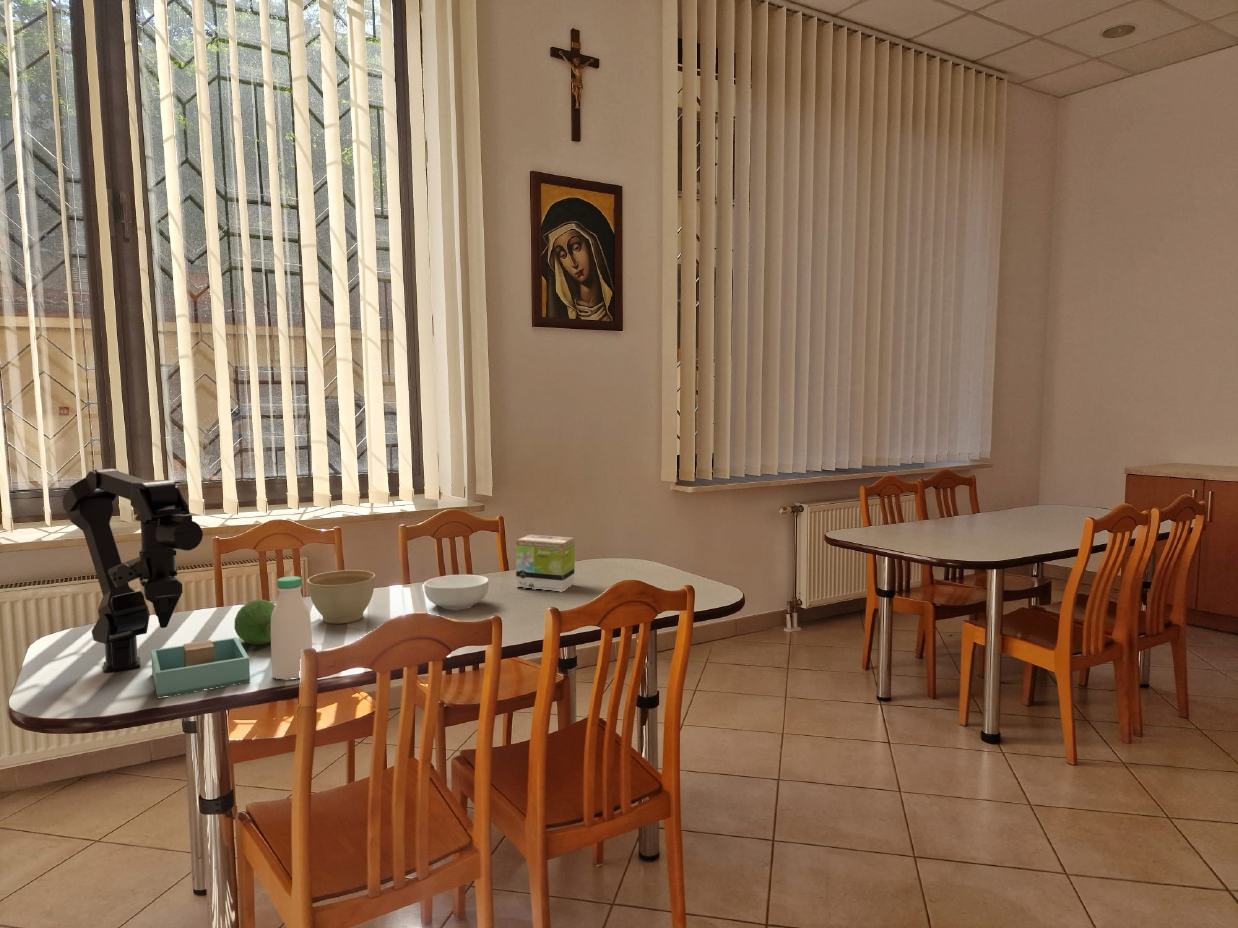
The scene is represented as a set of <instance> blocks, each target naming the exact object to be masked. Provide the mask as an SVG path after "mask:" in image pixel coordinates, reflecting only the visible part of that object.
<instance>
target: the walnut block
mask: <svg viewBox="0 0 1238 928" xmlns="http://www.w3.org/2000/svg"><path fill="white" fill-rule="evenodd" d="M212 641H213V640H211V639H209V640H208V639H207V640H201V641H196V642H193V641H192V642H187V643H183V648H184V667H188V666H195V665H201V664H207V663H213V662H215V660H214V646H213V643H212Z"/></svg>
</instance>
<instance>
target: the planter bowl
mask: <svg viewBox="0 0 1238 928" xmlns="http://www.w3.org/2000/svg"><path fill="white" fill-rule="evenodd" d="M375 578H376V574H375V573H374V572H372V571H367V570H362V569H361V570H358V569H354V570H353V569H345V570H334V571H329V572H322V573H318V574H316V575H312V576H310V577H309V578H307V586H308V592H309V597H310V599H311V602H312V604H313V606H314V608H315V609H316V610H317V612H318V613H319V614H320V615H321V616H322V619H323V622H325V623H327V624H338V625H339V624H348V623H353V622H356V621H358V620H361V619H362V618H363V617H364V612H365V611H366V609H367V608H368V607H369V604H370V603H371V600H372V598H373V594H374V591H375V590H374V589H375V580H376V579H375Z"/></svg>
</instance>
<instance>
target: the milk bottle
mask: <svg viewBox="0 0 1238 928" xmlns="http://www.w3.org/2000/svg"><path fill="white" fill-rule="evenodd" d="M302 585H303V582H302V577H300V576H293V575H291V576H283V577H280V578H278V579H277V580H276V587H277V589H276V590H277V592H278V595H277V600H276V603H275V604H274V605H275V607H274V609H273V612H272V616H271V642H270V651H271V652H270V653H271V654H270V655H271V675H272V677H273V679H275V678H276V679H275V680H277V679H291V678H299V671H300V659H301V650H302V649H306V648H312V649H313V635H312V634H313V633H312V620H311V613H310V609H309V607H308V605H307V604H306V602H305V600H304V598H303V595H302V588H303V587H302Z"/></svg>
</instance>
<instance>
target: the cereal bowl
mask: <svg viewBox="0 0 1238 928" xmlns="http://www.w3.org/2000/svg"><path fill="white" fill-rule="evenodd" d="M489 583H490V581H489V579H488V578H487V577H486V576H482V575H476V574H450V575H443V576H437V577H433V578H430V579H428V580H426V581H424V583H423V587H424V588H423V589H424V593H425V597H426V598H427V599H428V600H429V601H430V602H431V603H432V604H434V605H436V606H440V607H443V608H442V609H444V608H446V609H445V610H448V609H449V611H459V610H460V611H461V610H465V609H466V608H467V609H470V608H471V607H472V606H473V605H475V604H477V603H479V602H481V601H483V599H484V598H485V597H486V596H487V594H488V592H489Z"/></svg>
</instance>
